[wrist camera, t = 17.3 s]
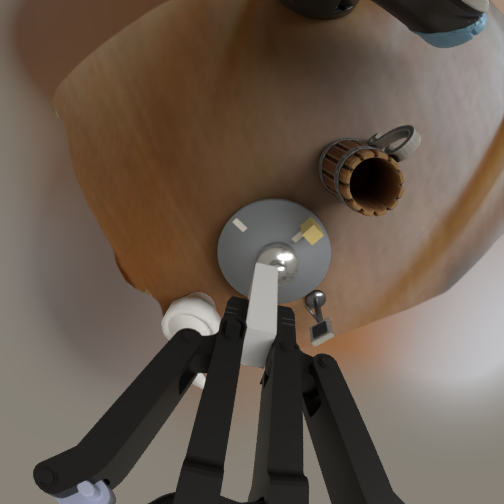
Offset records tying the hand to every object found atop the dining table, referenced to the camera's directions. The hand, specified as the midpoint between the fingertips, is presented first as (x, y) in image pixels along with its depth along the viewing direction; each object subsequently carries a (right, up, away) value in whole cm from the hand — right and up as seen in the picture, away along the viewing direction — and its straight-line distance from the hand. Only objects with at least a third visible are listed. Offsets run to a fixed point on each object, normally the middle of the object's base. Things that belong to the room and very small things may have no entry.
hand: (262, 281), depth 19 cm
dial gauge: (+12, -7, +36) cm, 38 cm away
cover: (+4, +1, +29) cm, 29 cm away
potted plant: (-11, -9, +40) cm, 42 cm away
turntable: (+3, +2, +31) cm, 31 cm away
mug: (+17, +18, +24) cm, 34 cm away
